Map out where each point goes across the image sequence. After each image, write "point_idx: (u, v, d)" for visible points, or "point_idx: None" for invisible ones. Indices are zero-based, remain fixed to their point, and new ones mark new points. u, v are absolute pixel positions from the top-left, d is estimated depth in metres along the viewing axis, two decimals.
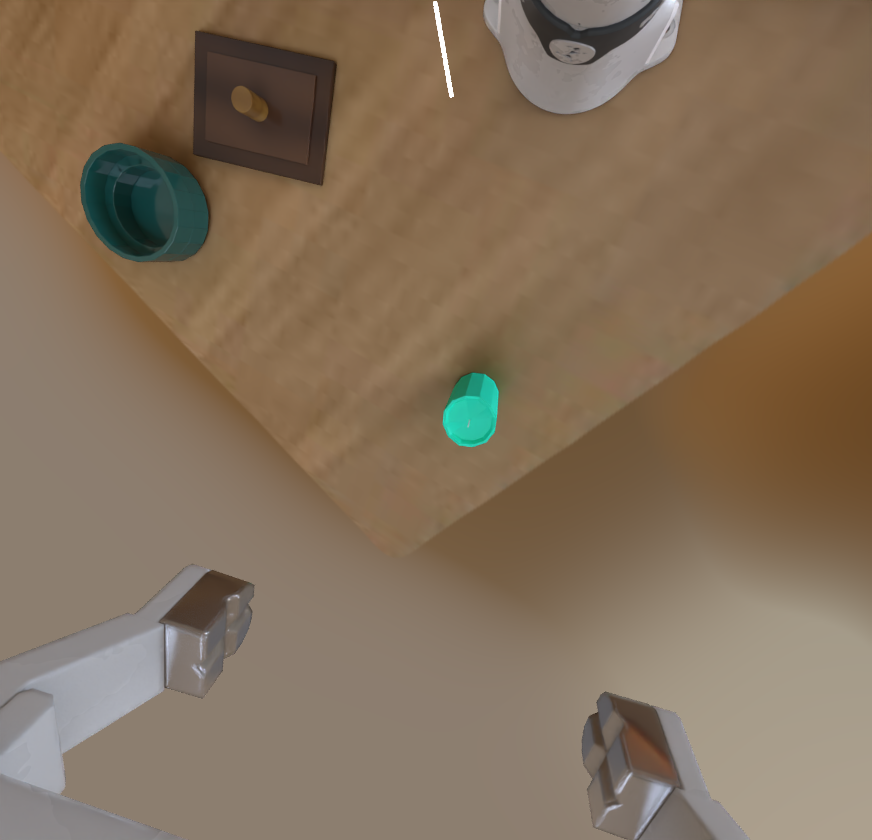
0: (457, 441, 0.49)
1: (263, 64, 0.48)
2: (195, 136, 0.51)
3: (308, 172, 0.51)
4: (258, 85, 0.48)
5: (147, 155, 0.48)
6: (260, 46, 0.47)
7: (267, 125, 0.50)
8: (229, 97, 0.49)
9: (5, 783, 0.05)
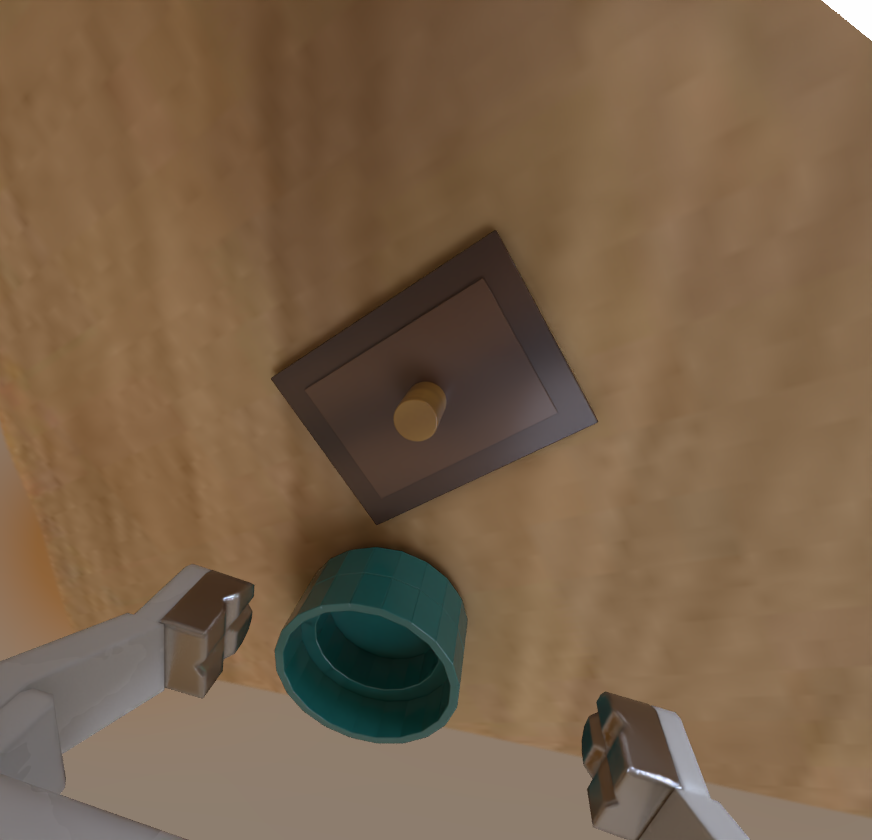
0: None
1: (390, 336, 0.25)
2: (364, 502, 0.30)
3: (566, 421, 0.25)
4: (404, 370, 0.25)
5: (344, 605, 0.26)
6: (367, 317, 0.25)
7: (455, 410, 0.26)
8: (375, 420, 0.27)
9: (5, 783, 0.05)
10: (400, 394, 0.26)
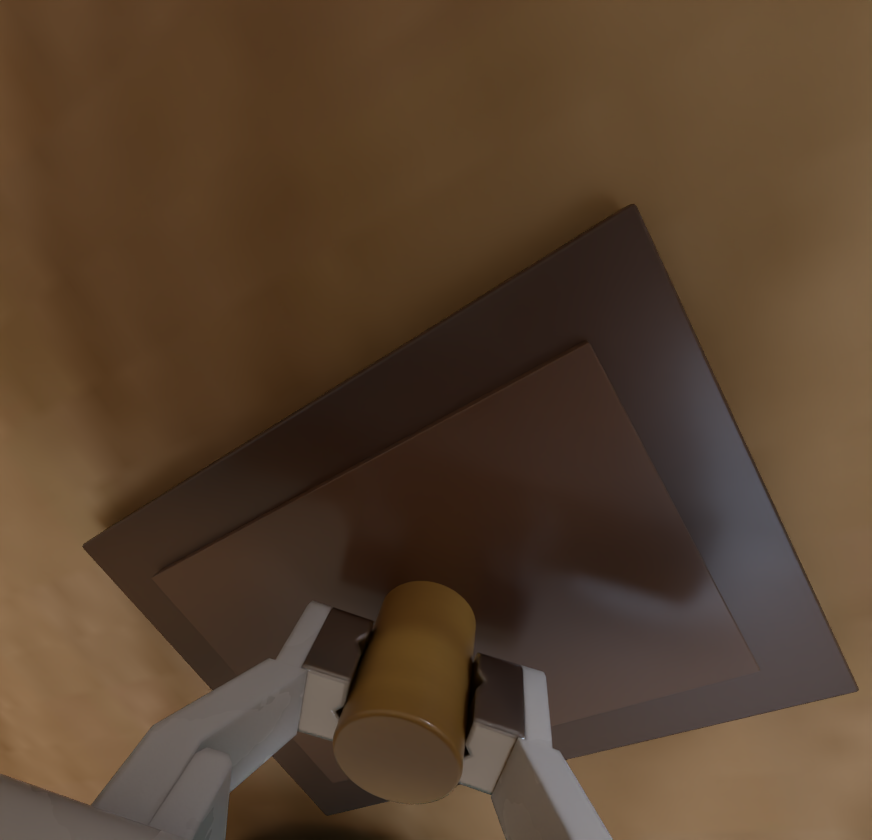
0: None
1: (337, 478, 0.10)
2: (299, 779, 0.14)
3: (773, 682, 0.10)
4: (374, 554, 0.10)
5: None
6: (281, 429, 0.10)
7: (497, 644, 0.11)
8: None
9: (5, 783, 0.05)
10: (365, 602, 0.11)
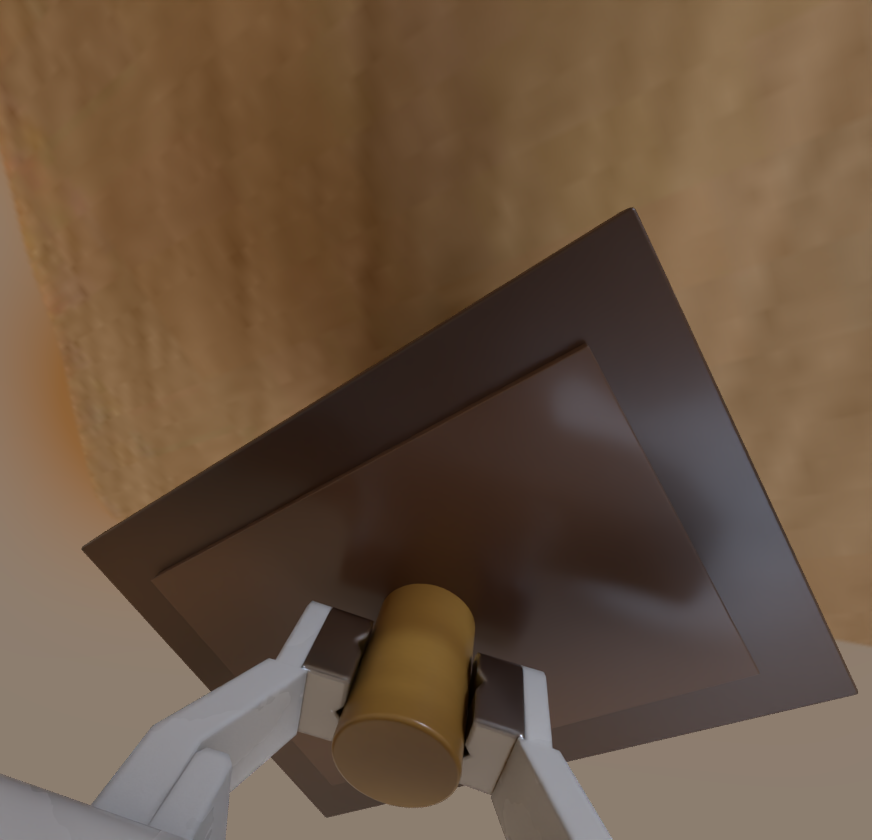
0: None
1: (336, 481, 0.10)
2: (298, 781, 0.14)
3: (773, 685, 0.10)
4: (373, 557, 0.10)
5: None
6: (280, 432, 0.10)
7: (497, 647, 0.11)
8: None
9: (5, 783, 0.05)
10: (365, 605, 0.11)
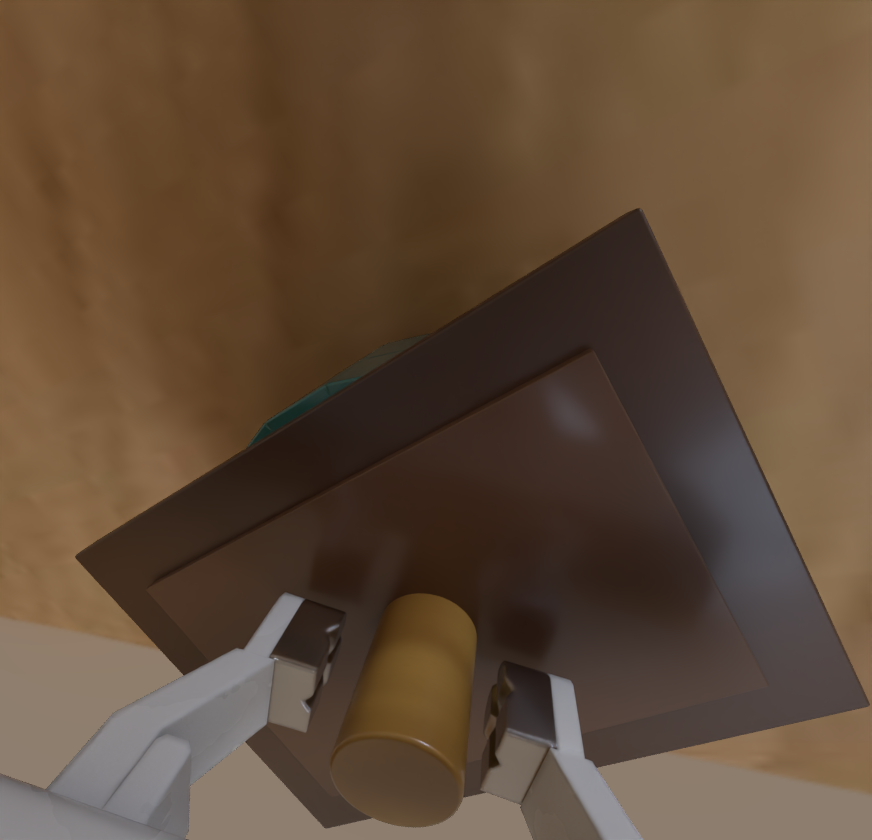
0: None
1: (335, 489, 0.10)
2: (297, 791, 0.14)
3: (782, 696, 0.10)
4: (372, 566, 0.10)
5: None
6: (277, 439, 0.10)
7: (499, 658, 0.11)
8: None
9: (5, 783, 0.05)
10: (364, 615, 0.11)
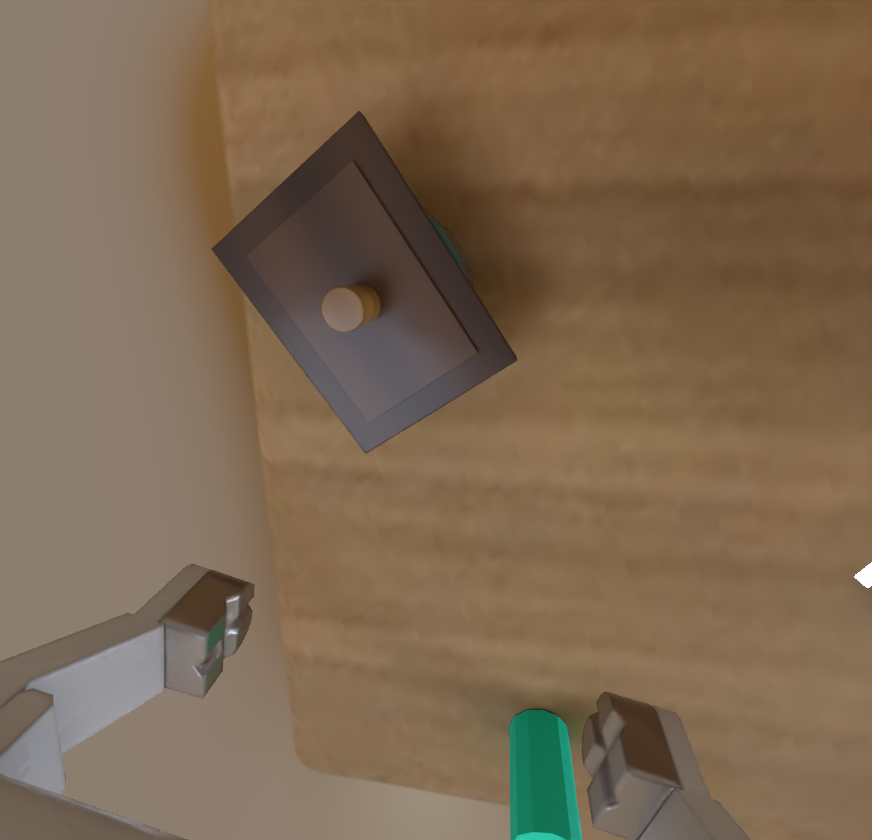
0: None
1: (420, 265, 0.25)
2: (234, 233, 0.26)
3: (362, 429, 0.29)
4: (388, 281, 0.26)
5: None
6: (437, 239, 0.25)
7: (356, 334, 0.27)
8: (331, 248, 0.26)
9: (5, 783, 0.05)
10: (363, 277, 0.26)
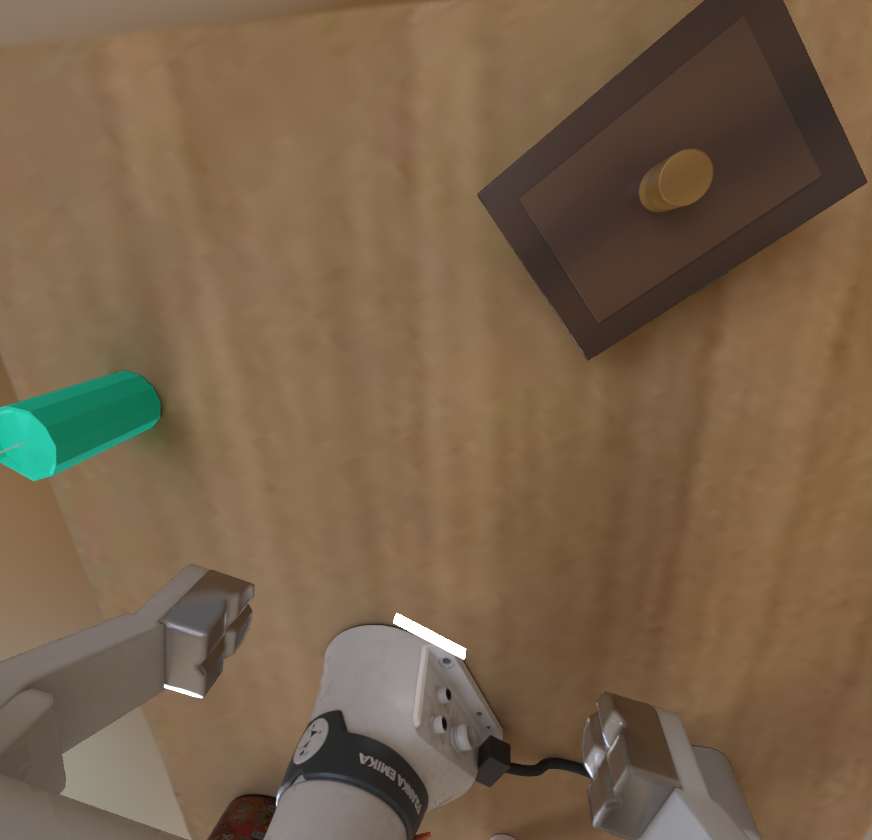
0: None
1: (696, 257, 0.25)
2: None
3: (508, 189, 0.25)
4: (685, 221, 0.24)
5: None
6: (718, 274, 0.25)
7: (628, 181, 0.24)
8: (732, 148, 0.22)
9: (5, 783, 0.05)
10: None
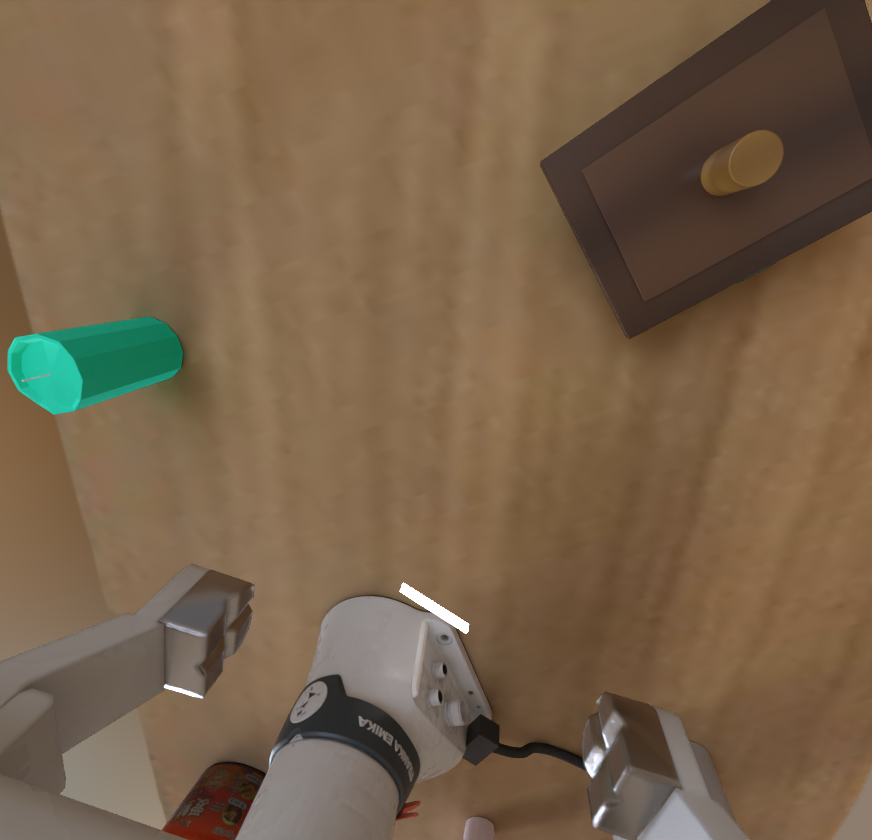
0: (22, 339, 0.31)
1: (748, 244, 0.25)
2: None
3: (572, 159, 0.25)
4: (742, 207, 0.24)
5: None
6: (767, 263, 0.25)
7: (692, 162, 0.24)
8: (796, 138, 0.23)
9: (5, 783, 0.05)
10: None
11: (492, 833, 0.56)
